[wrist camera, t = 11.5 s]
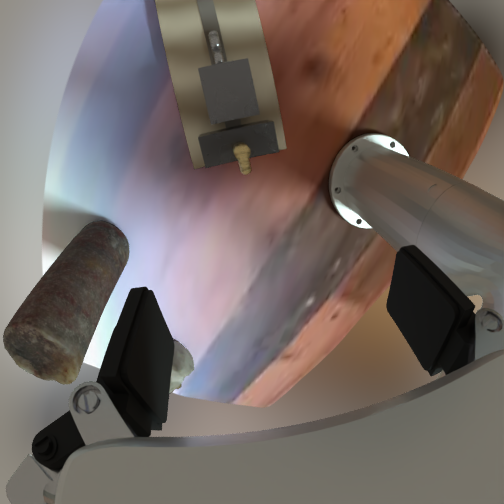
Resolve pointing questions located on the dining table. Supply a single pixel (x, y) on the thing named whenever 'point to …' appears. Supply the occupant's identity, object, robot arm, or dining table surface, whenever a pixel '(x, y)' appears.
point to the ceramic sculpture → (180, 366)
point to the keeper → (239, 144)
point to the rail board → (200, 55)
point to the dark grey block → (227, 86)
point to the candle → (67, 305)
